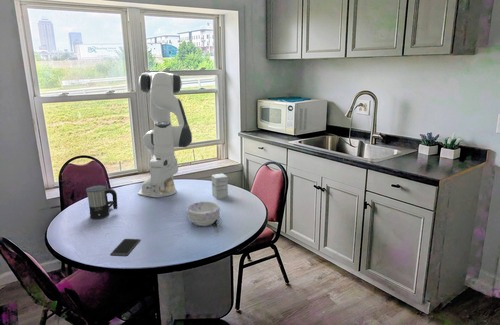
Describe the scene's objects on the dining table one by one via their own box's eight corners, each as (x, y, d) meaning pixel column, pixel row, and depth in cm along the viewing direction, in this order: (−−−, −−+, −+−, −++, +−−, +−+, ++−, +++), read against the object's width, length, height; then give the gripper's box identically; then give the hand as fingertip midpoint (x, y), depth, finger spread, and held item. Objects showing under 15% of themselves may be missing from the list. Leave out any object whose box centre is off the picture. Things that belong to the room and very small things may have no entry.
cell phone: (109, 256, 140) (109, 254, 140) (124, 239, 154) (124, 238, 153) (127, 257, 140) (127, 255, 139) (141, 240, 153) (140, 239, 153)
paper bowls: (214, 230, 161) (214, 214, 159) (183, 227, 164) (182, 211, 162) (223, 216, 176) (223, 202, 174) (194, 214, 179) (194, 200, 177)
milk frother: (92, 221, 173) (88, 192, 169) (83, 211, 185) (80, 184, 181) (121, 213, 181) (118, 186, 178) (111, 204, 193) (108, 179, 189)
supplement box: (212, 195, 206) (211, 174, 203) (223, 193, 209) (223, 172, 206) (216, 199, 200) (215, 178, 197) (228, 197, 203) (227, 176, 200)
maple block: (159, 192, 159) (158, 181, 158) (164, 188, 164) (163, 178, 162) (169, 193, 158) (168, 182, 156) (173, 189, 162) (173, 179, 161)
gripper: (168, 152, 167) (169, 180, 171) (146, 163, 148) (149, 194, 151) (180, 153, 166) (181, 181, 169) (160, 164, 146) (162, 195, 150)
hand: (166, 187), depth 160 cm, fingers closed on maple block, 5 cm apart
